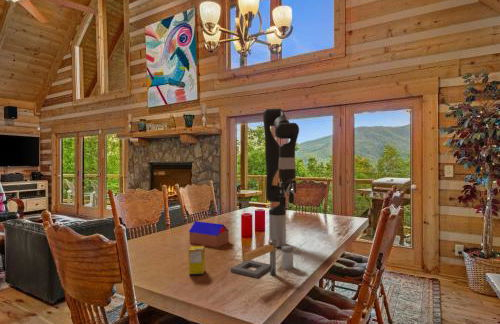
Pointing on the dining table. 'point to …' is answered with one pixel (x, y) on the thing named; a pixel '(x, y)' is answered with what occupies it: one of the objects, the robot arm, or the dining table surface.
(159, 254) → the dining table surface
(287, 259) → the plug
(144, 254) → the dining table surface
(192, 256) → the supplement box
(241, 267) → the socket collar
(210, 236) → the house
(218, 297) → the dining table surface
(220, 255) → the dining table surface
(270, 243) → the gate
